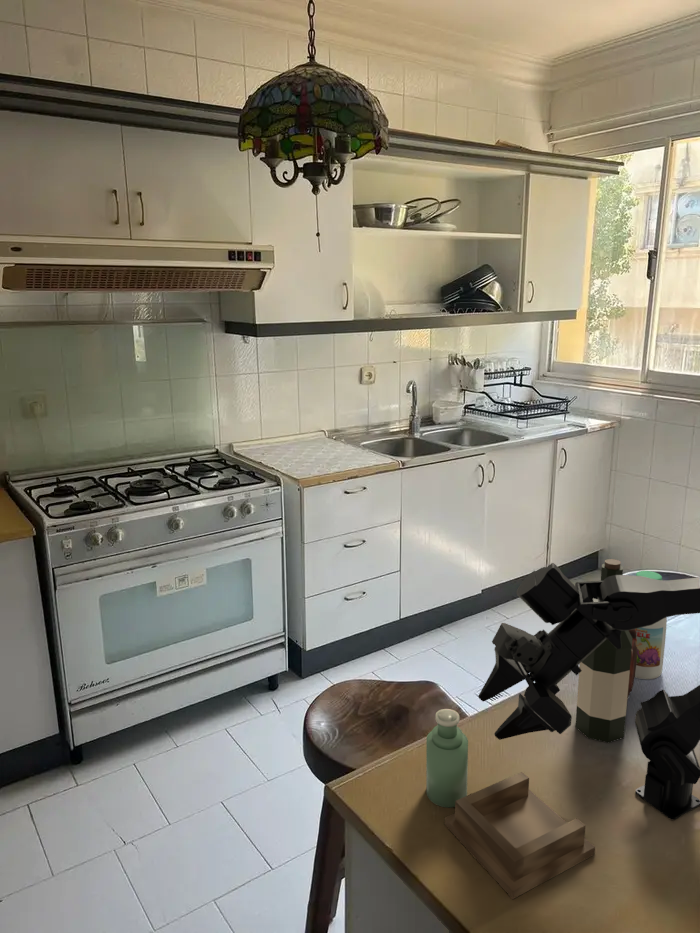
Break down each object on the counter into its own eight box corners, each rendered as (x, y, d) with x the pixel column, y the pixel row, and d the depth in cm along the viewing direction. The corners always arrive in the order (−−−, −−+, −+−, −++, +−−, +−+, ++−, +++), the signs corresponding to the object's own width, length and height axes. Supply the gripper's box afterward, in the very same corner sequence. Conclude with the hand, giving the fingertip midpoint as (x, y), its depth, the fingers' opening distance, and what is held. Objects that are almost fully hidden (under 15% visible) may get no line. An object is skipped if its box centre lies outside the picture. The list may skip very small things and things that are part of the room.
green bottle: (450, 774, 106) (451, 699, 102) (475, 798, 100) (477, 720, 97) (418, 787, 103) (418, 711, 100) (442, 813, 98) (442, 733, 94)
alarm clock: (608, 678, 131) (613, 606, 127) (635, 684, 129) (641, 611, 125) (598, 708, 122) (604, 631, 118) (627, 715, 119) (634, 637, 116)
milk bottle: (626, 656, 139) (634, 563, 134) (666, 668, 134) (676, 573, 129) (613, 672, 133) (621, 576, 128) (655, 685, 128) (664, 586, 123)
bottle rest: (521, 789, 102) (522, 765, 101) (594, 854, 90) (596, 827, 89) (444, 824, 95) (445, 799, 94) (512, 899, 83) (513, 870, 82)
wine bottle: (634, 742, 112) (649, 571, 105) (582, 742, 112) (595, 572, 105) (615, 712, 120) (629, 552, 113) (568, 712, 120) (578, 552, 113)
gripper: (510, 582, 104) (438, 651, 106) (552, 642, 86) (464, 723, 88) (558, 627, 107) (486, 693, 109) (609, 695, 88) (521, 772, 91)
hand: (488, 717), depth 99 cm, fingers open, 9 cm apart
